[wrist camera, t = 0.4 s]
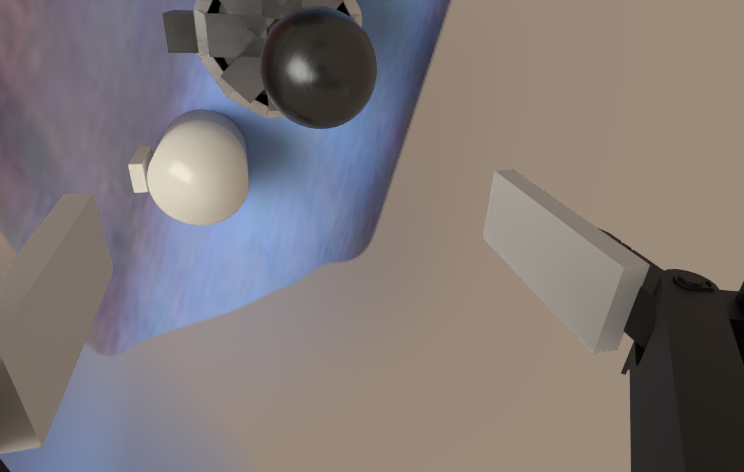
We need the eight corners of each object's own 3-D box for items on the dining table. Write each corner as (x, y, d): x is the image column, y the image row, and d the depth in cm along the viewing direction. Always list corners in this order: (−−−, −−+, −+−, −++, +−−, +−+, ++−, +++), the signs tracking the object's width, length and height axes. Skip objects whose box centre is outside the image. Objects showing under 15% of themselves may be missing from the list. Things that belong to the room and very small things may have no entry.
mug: (138, 111, 42) (116, 138, 34) (242, 108, 44) (244, 133, 36) (153, 190, 45) (136, 230, 38) (250, 184, 47) (252, 221, 40)
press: (169, -59, 37) (143, -79, 27) (338, -50, 40) (372, -64, 30) (191, 96, 42) (177, 129, 32) (338, 94, 46) (367, 123, 35)
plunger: (209, -39, 30) (174, -81, 13) (340, -33, 32) (459, -62, 15) (224, 97, 34) (212, 203, 17) (340, 95, 36) (435, 188, 19)
